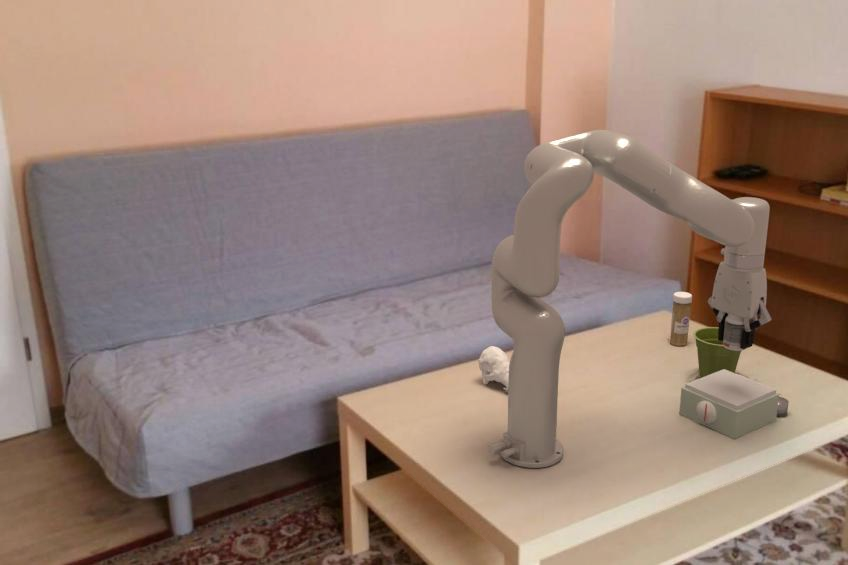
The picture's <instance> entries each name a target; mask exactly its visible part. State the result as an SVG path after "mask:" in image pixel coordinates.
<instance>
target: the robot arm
mask: <svg viewBox="0 0 848 565" xmlns="http://www.w3.org/2000/svg"><path fill="white" fill-rule="evenodd" d="M524 160H525V161H524V165H523V168H524V169H523V170H524V175H525V178H526V179H527V181H528V182H529V183H530V184H531V186H530V188H529V189H527V191H526V193H524V195H523V197H522V198H521V199H520V201H519V202H518V206H517V207H516V212H515V216H514V224H513V225H514V226H513V234H511V235H509V236H507V237H505V238H504V239H502V240H501V241H500V243H499V244H498V245H497V246H496V248H495V250H494V252H493V257H492V260H491V312H492V318H493V320H494V322H495V324H496V326H497V327H498V328H499V329H500V330H501V331H502V332H503V333H504V334H506V336H508V338H510V340H512V341H513V351H512V354H511V357H510V359H509V361H510V364H509V388H508V392H507V396H508V397H507V400H508V401H507V431H506V432H504V433H503V434H502V436H503V437H502V438H503V439H500V441H499V442H496V443H494V444H492V445H488V447H487V451H488V453H489V455H490V456H496V455H498V454H500V456H501V458H503V460H505V461H506V462H508V463H510V464H512V465H514V466H517V467H520V468H521V467H522V468H527V469H528V468H530V469H540V468H546V467H547V468H548V467H550V466H554V465H556V464H557V463H559V462H560V461H561V460H562V459H563V457H564V447H563V444H562V443H561V442H560V441H559V440H558V439H557V422H558V421H557V420H558V398H559V395H558V394H559V372H560V363H561V362H560V360H561V354H562V349H563V346H564V342H565V336H566V327H565V323H564V320H563V318H562V316H561V315H560V314H559V312H558V311H557V310H556V309H555V307H553V306H552V305H550V304H549V303H548V302H546V301H545V300H544V299H542V298H545V297H547V296H550V295H551V294H552V293H554V292H555V290H556V288H557V286H558V284H559V280H560V272H561V270H560V269H561V268H560V267H561V233H562V225H563V220H564V218H565V216H566V214H567V212H568V211H569V209H570V208H571V207H572V206H573V205H574V204H575V203H577V201H579V200H580V199H581V198H582V197H583V196H585V195H586V194H587V192H589V190H590V189H591V187H592V185H593V182H594V178H595V176H594V175H595V174H596V175H599V176H602V177H604V178H606V179H607V180H609V181H611V182H613V183H614V184H617V185H618V186H619V187H621V188H623V190H626V191H628V192H629V193H630V194H632V195H634V196H635V197H637V198H639V199H640V200H642V201H643V202H645V203H646V204H648V205H649V206H651V207H652V208H655V209H657V210H659V211H660V212H662V213H665V214H667V215H669V216H671V217H674V218H677V219H680V220H682V221H685V222H686V223H687V225H688V227H689V229H690V230H692V232H693V233H696V234H697V235H699V236H702V237H704V238H706V239H708V240H712V241H714V242H716V243H718V244H721V245H723V246H724V248H721V250H720V254H721V255H723V261H721V262H720V263H719V264H718V265H719V266H718V268H717V272H716V275H715V280H714V282H713V289H712V296H710V297H709V298H708V300H707V304H708V305H709V307H710V308H711V309H712V311H713V313H714V315H715V316H716V321H717V322H718V327H719V328H718V340H719V341H723V339H724V329H725V319H726V317H727V316H728V314H731V315H734V316H737V317H740V318H744V326H745V330H744V331H742V336H741V345H740V348H741V349H745V350H746V349H748V348H751V347H753V345H754V340H755V332H756V330H758V329H759V328H760V327H762V326H763V325H765V324H767V323H769V322H771V321H772V317H771V315H770V313H769V310H768V308H767V307H766V306H767V296H768V294H767V291H768V288H767V287H768V284H767V283H768V280H767V272H766V268H764V265H765V264H764V263H765V255H766V245H767V237H768V228H769V218H770V209H771V208H770V204H769V202H768V201H767V200H765V199H763V198H758V197H754V196H753V197H752V196H751V197H750V196H743V197H736V198H734V199H731V198H729V197H727V196H726V195H725V194H722V193H721V192H719V191H718V190H716V189H714V188H712V187H711V186H709V185H707V184H705V183H704V182H703V181H700V180H699V179H697V178H695V176H693V175H691V174H689V173H687V172H686V171H684V170H682V169H681V168H679V167H677V166H676V165H674V164H672V162H670V161H668V160H666V159H665V158H664V157H662V156H660V155H659V154H658V153H656V152H655V151H653V150H652V149H651V148H649V147H647V146H646V145H645V144H643V143H642V142H640V141H638V140H637V139H635V138H633V137H632V136H629V135H626V134H623V133H619V132H617V131H613V130H610V129H594V130H589V131H586V132H585V131H584V132H581V133H577V134H574V135H571V136H566V137H562V138H558V139H556V140H551V141H547V142H544V143H541V144H539V145H537V146H535V147H534V148H533V149H532V150H531V151H530V152H529V153H527V156H526V158H525V159H524ZM758 316H759V317H760V318H758Z"/></svg>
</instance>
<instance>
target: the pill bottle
mask: <svg viewBox="0 0 848 565" xmlns="http://www.w3.org/2000/svg"><path fill="white" fill-rule="evenodd" d="M744 330H745V326H744V318H740V317H737V316H734V315H731V314H728V316H727V317H726V319H725V329H724V339H723V346H724V347H725V348H727V349H729V350H735V351H741V352H742V351H745V350H746V349H741V348H740V345H741V336H742V331H744Z"/></svg>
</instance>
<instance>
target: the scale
mask: <svg viewBox="0 0 848 565" xmlns="http://www.w3.org/2000/svg"><path fill="white" fill-rule="evenodd" d="M779 397H780V394H779V393H777V389H775V388H773V387H771V386H768V385H766V384H763V383H760V382H758V381H755V380H753V379H750V378H747V377H745V376H742V375H740V374H737V373H736V372H735V373H733V372H730V371H728V370H725V369H723V370H720V371H718V372H715V373H713V374H710V375H707V376H705V377H702V378H700V377H699V378H698V379H697V378H696V379H695V380H693V381H690V382H687V383H685V384H684V386H683V387H681V392H680V400H679V401H680V402H679V414H680V415H681V416H684V417H686V418H688V419H691V420H693V421H695V422H697V423H700V424H702V425H703V426H706V427H708V428H710V429H712V430H714V431H716V432H719V434H720V433H721V434H723V435H725V436H726V437H729V438H732V439H737V438H739V437H742V436H744V435H747V434H748V433H751V432H753V431H755V430H757V429H759V428H762V427H764V426H766V425H768V424H771V423H772V422H774V421H775V422H776V420H777V417H776V415H777V408H778V400H779Z"/></svg>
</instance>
